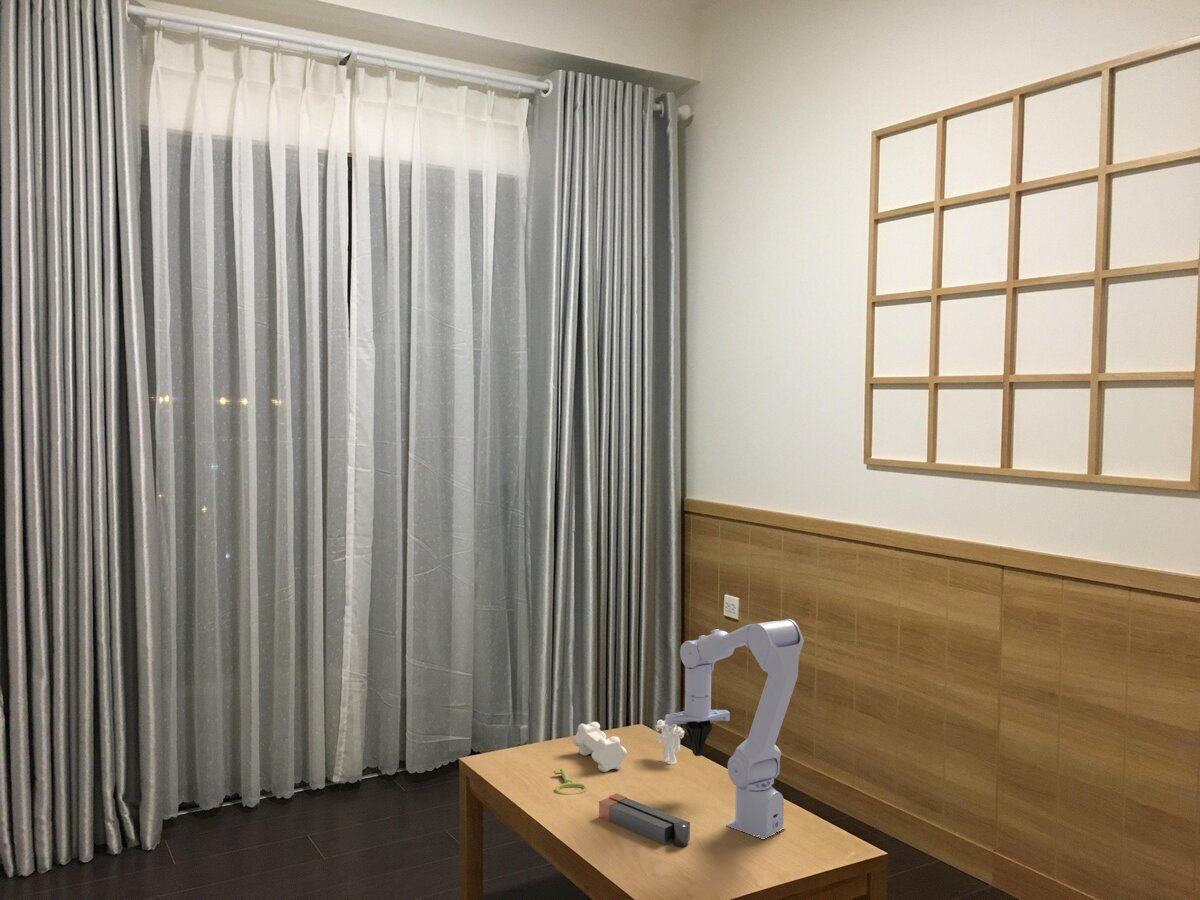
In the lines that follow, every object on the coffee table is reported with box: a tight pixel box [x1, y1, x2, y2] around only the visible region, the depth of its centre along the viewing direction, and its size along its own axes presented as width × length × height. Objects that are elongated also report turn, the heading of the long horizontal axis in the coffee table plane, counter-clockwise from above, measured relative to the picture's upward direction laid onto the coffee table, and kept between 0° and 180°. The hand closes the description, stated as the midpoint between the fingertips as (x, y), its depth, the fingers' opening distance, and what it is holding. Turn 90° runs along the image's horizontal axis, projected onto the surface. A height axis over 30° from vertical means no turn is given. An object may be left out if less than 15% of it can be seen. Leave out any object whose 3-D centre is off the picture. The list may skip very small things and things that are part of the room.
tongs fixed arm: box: [598, 797, 673, 846], centre depth 197 cm, size 18×2×4 cm, turn 46°
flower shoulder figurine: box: [654, 719, 685, 766], centre depth 235 cm, size 9×4×12 cm, turn 38°
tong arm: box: [608, 792, 691, 848], centre depth 197 cm, size 21×4×4 cm, turn 46°
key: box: [553, 767, 588, 796], centre depth 219 cm, size 7×12×2 cm, turn 33°
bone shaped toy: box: [572, 721, 628, 773], centre depth 234 cm, size 15×9×8 cm, turn 24°
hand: (697, 754), depth 214 cm, fingers closed
